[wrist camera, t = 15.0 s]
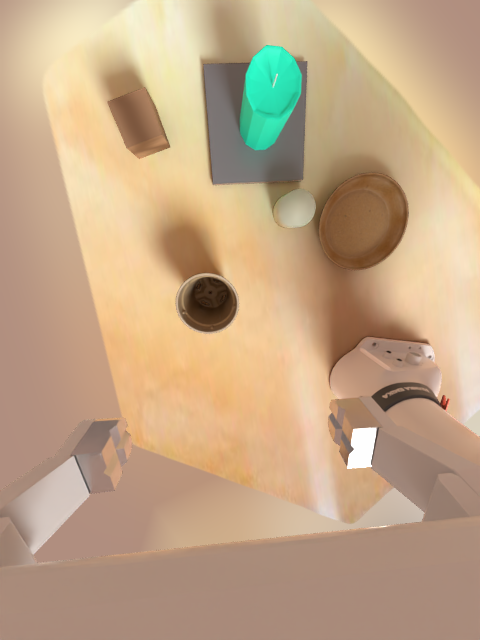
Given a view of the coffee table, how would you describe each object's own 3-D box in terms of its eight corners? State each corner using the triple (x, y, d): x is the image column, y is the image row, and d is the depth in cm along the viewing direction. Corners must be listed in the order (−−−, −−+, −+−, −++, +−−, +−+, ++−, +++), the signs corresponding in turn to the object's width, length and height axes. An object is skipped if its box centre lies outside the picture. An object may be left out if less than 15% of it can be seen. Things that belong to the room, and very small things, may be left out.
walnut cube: (155, 107, 34) (144, 87, 29) (170, 147, 35) (162, 134, 31) (123, 119, 34) (107, 101, 29) (139, 158, 36) (126, 148, 31)
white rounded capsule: (303, 194, 39) (316, 187, 33) (302, 227, 40) (314, 226, 35) (272, 195, 38) (281, 189, 33) (273, 228, 40) (280, 228, 35)
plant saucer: (301, 256, 42) (306, 258, 40) (332, 164, 38) (340, 159, 35) (375, 276, 44) (383, 278, 42) (413, 190, 40) (425, 188, 37)
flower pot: (183, 263, 41) (173, 271, 33) (237, 266, 42) (240, 274, 34) (185, 314, 45) (176, 333, 36) (235, 316, 45) (237, 334, 37)
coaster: (304, 66, 33) (307, 61, 32) (300, 181, 38) (302, 179, 37) (204, 68, 32) (203, 64, 31) (213, 185, 37) (213, 183, 36)
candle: (233, 108, 33) (238, 45, 22) (274, 93, 33) (300, 22, 22) (246, 156, 35) (256, 121, 24) (284, 142, 35) (312, 101, 24)
